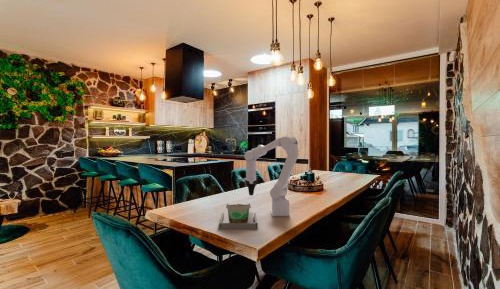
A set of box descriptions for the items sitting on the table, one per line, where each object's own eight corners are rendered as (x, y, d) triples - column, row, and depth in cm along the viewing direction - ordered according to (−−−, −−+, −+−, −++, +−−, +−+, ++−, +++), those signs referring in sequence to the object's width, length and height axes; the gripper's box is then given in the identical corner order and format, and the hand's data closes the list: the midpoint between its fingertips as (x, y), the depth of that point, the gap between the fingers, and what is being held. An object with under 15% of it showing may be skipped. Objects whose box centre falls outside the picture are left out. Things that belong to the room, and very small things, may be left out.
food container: (225, 227, 122) (225, 206, 122) (226, 222, 128) (226, 203, 128) (251, 226, 123) (251, 206, 123) (250, 222, 129) (250, 202, 129)
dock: (255, 217, 137) (255, 212, 137) (257, 228, 120) (257, 223, 120) (222, 217, 137) (222, 213, 136) (219, 229, 120) (219, 223, 119)
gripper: (244, 169, 159) (244, 191, 159) (244, 172, 144) (244, 196, 144) (255, 169, 159) (255, 191, 159) (256, 172, 144) (256, 196, 145)
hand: (251, 193), depth 152 cm, fingers open, 7 cm apart
